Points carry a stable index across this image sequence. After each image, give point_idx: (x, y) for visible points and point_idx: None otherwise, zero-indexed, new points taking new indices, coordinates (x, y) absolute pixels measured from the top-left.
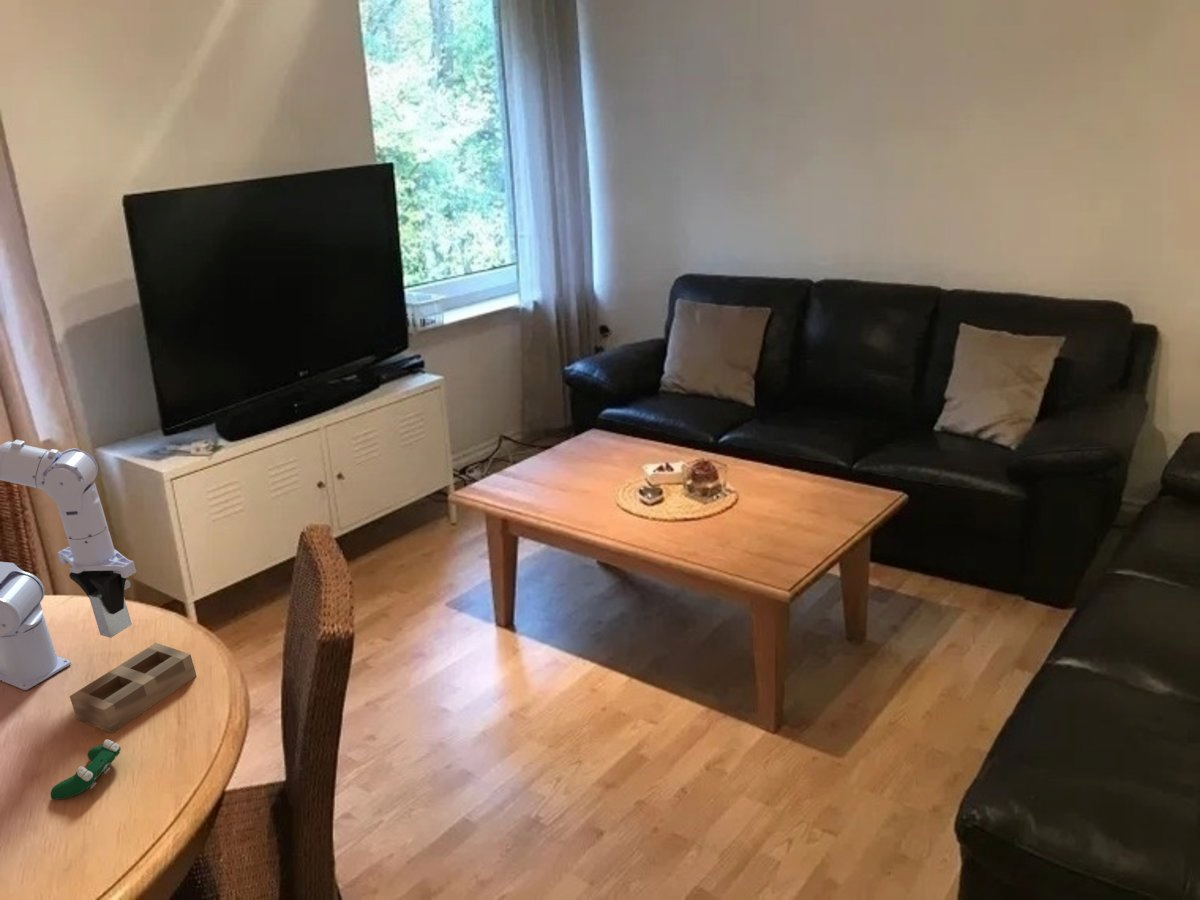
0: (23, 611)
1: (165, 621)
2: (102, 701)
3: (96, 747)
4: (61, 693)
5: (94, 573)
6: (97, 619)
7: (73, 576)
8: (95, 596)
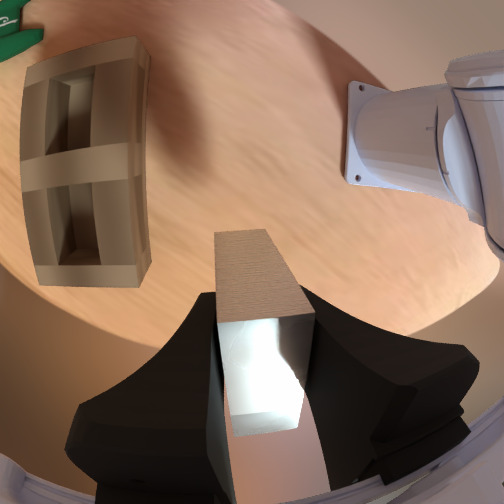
0: (486, 115)
1: None
2: (48, 74)
3: (13, 36)
4: (271, 95)
5: (346, 440)
6: (266, 251)
7: (445, 376)
8: (262, 324)
